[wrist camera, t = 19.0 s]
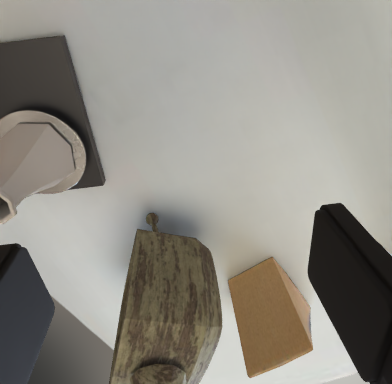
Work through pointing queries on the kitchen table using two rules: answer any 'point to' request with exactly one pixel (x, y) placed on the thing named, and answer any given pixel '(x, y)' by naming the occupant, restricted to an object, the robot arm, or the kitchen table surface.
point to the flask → (30, 164)
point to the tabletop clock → (167, 311)
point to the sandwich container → (270, 317)
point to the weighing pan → (63, 130)
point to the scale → (48, 92)
